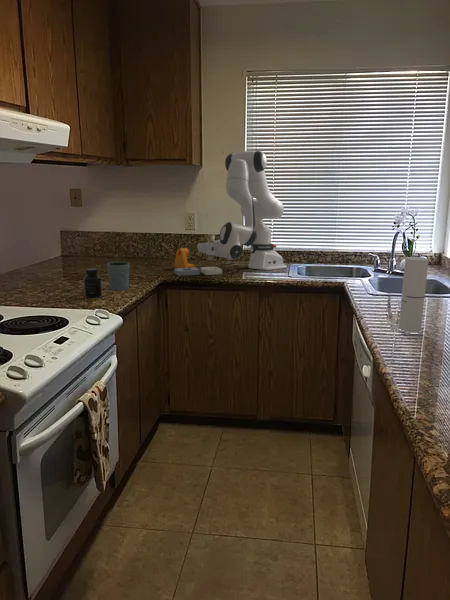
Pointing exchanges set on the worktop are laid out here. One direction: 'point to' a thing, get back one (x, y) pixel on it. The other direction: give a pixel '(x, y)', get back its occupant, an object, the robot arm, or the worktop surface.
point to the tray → (211, 270)
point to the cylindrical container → (413, 294)
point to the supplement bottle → (92, 283)
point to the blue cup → (118, 275)
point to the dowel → (211, 238)
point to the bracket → (182, 259)
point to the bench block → (186, 271)
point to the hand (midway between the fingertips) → (210, 245)
